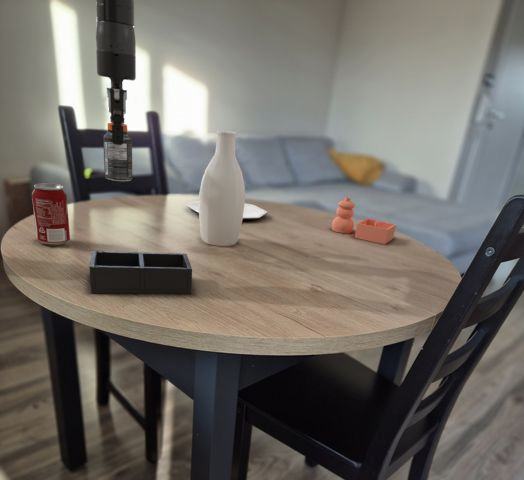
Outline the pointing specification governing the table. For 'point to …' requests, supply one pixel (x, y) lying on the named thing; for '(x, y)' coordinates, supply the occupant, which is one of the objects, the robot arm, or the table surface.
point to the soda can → (51, 214)
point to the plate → (248, 212)
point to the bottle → (222, 194)
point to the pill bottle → (117, 156)
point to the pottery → (361, 225)
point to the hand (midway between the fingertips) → (117, 142)
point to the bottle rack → (140, 273)
